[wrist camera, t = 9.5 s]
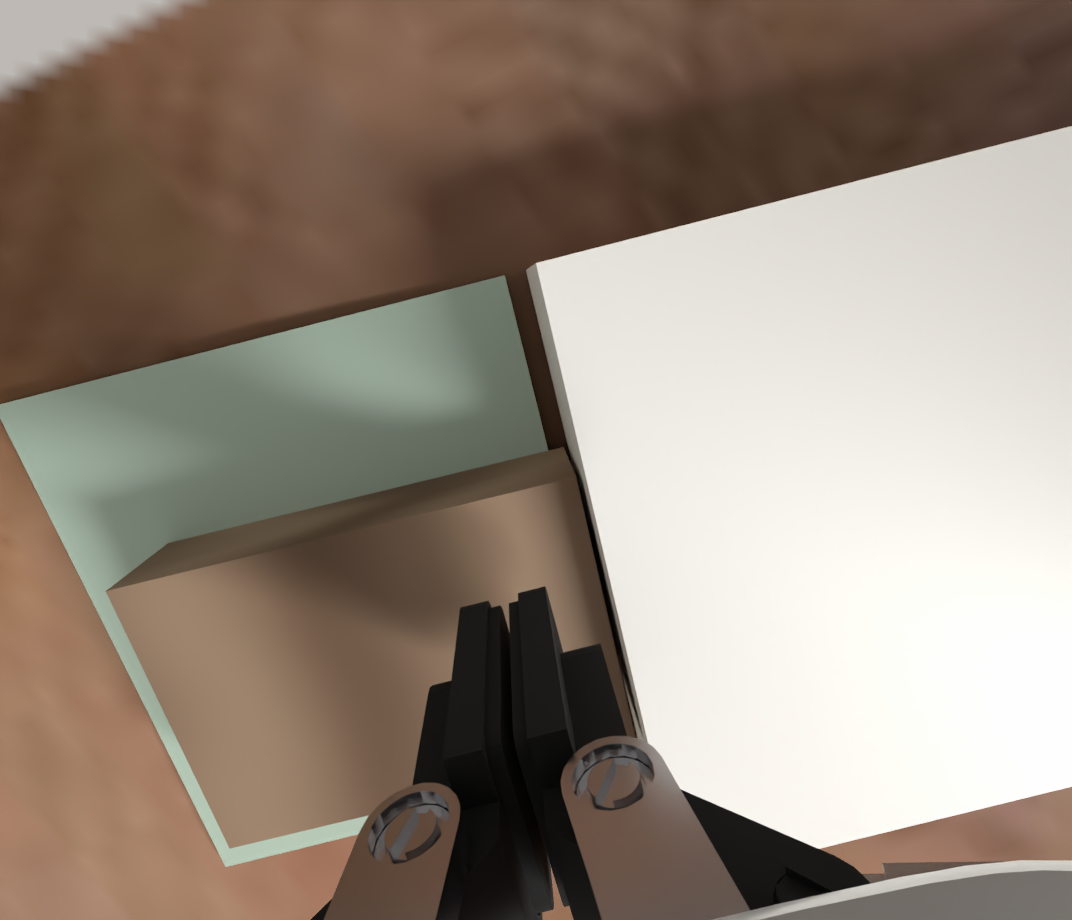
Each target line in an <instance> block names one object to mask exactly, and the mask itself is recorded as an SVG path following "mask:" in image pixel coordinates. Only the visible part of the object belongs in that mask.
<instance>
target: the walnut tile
mask: <svg viewBox="0 0 1072 920" xmlns="http://www.w3.org/2000/svg"><path fill="white" fill-rule="evenodd" d="M544 586H545V587H546V590H547V593H548V597H549V600H550V604H551V608H552V612H553V615H554V619H555V623H556V627H557V630H558V634H559V638H560V642H561V645H562V649H563V652H567V651H571V650H575V649H579V648H583V647H587V646H591V645H595V644H599V643H600V644H601V647H602V650H603V654H604V657H605V661H606V664H607V668H608V671H609V675H610V678H611V682H612V685H613V689H614V692H615V696H616V699H617V703H618V706H619V709H620V713H621V716H622V720H623V723H624V727H625V730H626V734H627V736H629V737H633V738H635V733H634V729H633V724H632V720H631V716H630V711H629V707H628V702H627V698H626V694H625V689H624V685H623V681H622V676H621V672H620V667H619V663H618V659H617V654H616V650H615V645H614V641H613V637H612V632H611V628H610V623H609V619H608V615H607V610H606V606H605V601H604V597H603V593H602V588H601V584H600V580H599V575H598V571H597V566H596V562H595V558H594V553H593V549H592V544H591V540H590V536H589V531H588V527H587V522H586V518H585V514H584V509H583V505H582V500H581V496H580V492H579V487H578V483H577V478H576V475H575V473H574V471H573V468H572V466H571V463H570V461H569V458H568V456H567V454H566V451H565V449H564V447H561V448H557V449H553V450H548V451H544V452H540V453H536V454H532V455H528V456H524V457H520V458H516V459H511V460H507V461H503V462H499V463H495V464H491V465H487V466H483V467H479V468H474V469H470V470H466V471H462V472H458V473H454V474H450V475H446V476H442V477H437V478H433V479H429V480H425V481H421V482H417V483H413V484H409V485H405V486H400V487H396V488H392V489H388V490H384V491H380V492H376V493H372V494H367V495H363V496H359V497H355V498H351V499H347V500H343V501H339V502H335V503H330V504H326V505H322V506H318V507H314V508H310V509H306V510H302V511H298V512H293V513H289V514H285V515H281V516H277V517H273V518H269V519H265V520H261V521H256V522H252V523H248V524H244V525H240V526H236V527H232V528H228V529H224V530H219V531H215V532H211V533H207V534H203V535H199V536H195V537H191V538H187V539H182V540H178V541H174V542H170V543H167V544H166V545H165V546H164V547H162V548H161V549H160V550H158V551H157V552H156V553H154V554H153V555H152V556H151V557H149V558H148V559H147V560H145V561H144V562H143V563H142V564H140V565H139V566H138V567H136V568H135V569H134V570H132V571H131V572H130V573H129V574H127V575H126V576H125V577H123V578H122V579H121V580H119V581H118V582H117V583H116V584H114V585H113V586H112V587H110V588H109V589H108V590H106V593H107V595H108V597H109V599H110V601H111V604H112V606H113V608H114V610H115V612H116V614H117V616H118V618H119V620H120V622H121V624H122V626H123V628H124V631H125V633H126V635H127V637H128V639H129V641H130V643H131V645H132V647H133V649H134V651H135V653H136V655H137V658H138V660H139V662H140V664H141V666H142V668H143V670H144V672H145V674H146V676H147V678H148V680H149V682H150V685H151V687H152V689H153V691H154V693H155V695H156V697H157V699H158V701H159V703H160V705H161V707H162V709H163V712H164V714H165V716H166V718H167V720H168V722H169V724H170V726H171V728H172V730H173V732H174V734H175V736H176V739H177V741H178V743H179V745H180V747H181V749H182V751H183V753H184V755H185V757H186V759H187V761H188V763H189V766H190V768H191V770H192V772H193V774H194V776H195V778H196V780H197V782H198V784H199V786H200V788H201V790H202V793H203V795H204V797H205V799H206V801H207V803H208V805H209V807H210V809H211V811H212V813H213V815H214V817H215V820H216V822H217V824H218V826H219V828H220V830H221V832H222V834H223V836H224V838H225V840H226V842H227V844H228V847H229V849H231V848H235V847H239V846H243V845H247V844H251V843H256V842H260V841H264V840H268V839H272V838H276V837H281V836H285V835H289V834H293V833H297V832H301V831H306V830H310V829H314V828H318V827H322V826H326V825H331V824H335V823H339V822H343V821H347V820H351V819H356V818H360V817H364V816H368V815H370V814H371V813H372V812H373V811H374V810H375V808H376V807H377V806H378V805H379V804H380V803H382V802H383V801H384V800H386V799H387V798H388V797H390V796H391V795H392V794H394V793H396V792H398V791H400V790H402V789H404V788H406V787H408V786H412V784H413V778H414V772H415V766H416V761H417V755H418V749H419V743H420V738H421V732H422V726H423V720H424V715H425V709H426V703H427V697H428V692H429V689H430V687H431V686H432V685H435V684H439V683H443V682H447V681H451V679H452V671H453V662H454V654H455V646H456V637H457V629H458V621H459V612H460V608H461V607H465V606H469V605H473V604H477V603H481V602H485V601H489V602H490V604H491V607H495V606H499V605H501V607H502V609H503V612H504V615H505V619H506V622H507V626H508V629H509V603H511V602H515V601H518V593H520V592H524V591H528V590H532V589H536V588H540V587H544ZM509 633H510V629H509Z"/></svg>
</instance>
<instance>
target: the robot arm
mask: <svg viewBox="0 0 1072 920" xmlns="http://www.w3.org/2000/svg"><path fill="white" fill-rule="evenodd" d="M509 629H510V633H509ZM509 629H508V626H507V622H506V619H505V615H504V612H503V609H502V607H501V605H499V606H495V607H491V604H490V602H489V601H485V602H481V603H477V604H473V605H469V606H465V607H461V608H460V612H459V621H458V629H457V637H456V646H455V654H454V662H453V671H452V679H451V681H447V682H443V683H439V684H435V685H432V686H431V687H430V689H429V692H428V697H427V703H426V709H425V715H424V720H423V726H422V732H421V738H420V743H419V749H418V755H417V761H416V766H415V772H414V778H413V784H412V786H408V787H406V788H404V789H402V790H400V791H398V792H396V793H394V794H392V795H391V796H390V797H388V798H387V799H386V800H384V801H383V802H382V803H380V804H379V805H378V806H377V807H376V808H375V810H374V811H373V812H372V813H371V814H370V815H369V816H368V818H367V819H366V821H365V823H364V825H363V826H362V828H361V830H360V832H359V834H358V837H357V839H356V842H355V844H354V847H353V849H352V852H351V854H350V856H349V859H348V861H347V864H346V866H345V869H344V871H343V874H342V876H341V878H340V881H339V883H338V886H337V888H336V891H335V893H334V896H333V898H332V899H331V900H330V901H329V902H328V903H327V904H326V905H325V906H324V907H323V908H322V909H321V910H320V911H319V912H318V913H317V914H316V915H315V916H314V917H313V918H312V919H311V920H542V912H545V911H549V910H553V908H554V902H553V890H552V879H551V868H552V871H553V874H554V877H555V880H556V884H557V887H558V890H559V893H560V897H561V900H562V903H563V905H564V907H565V906H569V905H570V909H571V912H572V915H573V919H574V920H1072V861H1039V860H1019V861H995V862H924V863H882V865H883V874H861V873H860V872H859V871H858V870H857V869H855V868H854V867H853V866H851V865H849V864H848V863H846V862H844V861H843V860H841V859H839V858H837V857H836V856H834V855H831V854H829V853H827V852H824V851H822V850H820V849H818V848H815V847H813V846H811V845H808V844H806V843H804V842H801V841H799V840H797V839H794V838H792V837H790V836H787V835H785V834H783V833H781V832H778V831H776V830H774V829H771V828H769V827H767V826H764V825H762V824H760V823H757V822H755V821H753V820H750V819H748V818H746V817H744V816H741V815H739V814H737V813H734V812H732V811H730V810H727V809H725V808H723V807H720V806H718V805H716V804H713V803H711V802H709V801H707V800H704V799H702V798H700V797H697V796H695V795H693V794H690V793H688V792H686V791H683V790H681V789H680V787H679V786H678V784H677V782H676V781H675V779H674V777H673V775H672V774H671V772H670V770H669V768H668V767H667V765H666V763H665V761H664V760H663V758H662V756H661V755H660V754H659V753H658V752H657V750H656V749H655V748H654V747H653V746H651V745H650V744H648V743H646V742H645V741H643V740H641V739H637V738H633V737H629V736H627V734H626V730H625V727H624V723H623V720H622V716H621V713H620V709H619V706H618V703H617V699H616V696H615V692H614V689H613V685H612V682H611V678H610V675H609V671H608V668H607V664H606V661H605V657H604V654H603V650H602V647H601V644H600V643H599V644H595V645H591V646H587V647H583V648H579V649H575V650H571V651H567V652H563V649H562V645H561V642H560V638H559V634H558V630H557V627H556V623H555V619H554V615H553V612H552V608H551V604H550V600H549V597H548V593H547V590H546V587H545V586H544V587H540V588H536V589H532V590H528V591H524V592H520V593H518V601H515V602H511V603H509ZM550 864H551V867H550Z"/></svg>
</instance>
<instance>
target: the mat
mask: <svg viewBox="0 0 1072 920" xmlns="http://www.w3.org/2000/svg"><path fill="white" fill-rule="evenodd" d="M0 419H1V421H2V423H3V425H4V427H5V429H6V431H7V433H8V435H9V437H10V439H11V441H12V443H13V445H14V447H15V449H16V451H17V453H18V455H19V457H20V459H21V461H22V463H23V465H24V467H25V469H26V471H27V473H28V475H29V477H30V479H31V481H32V483H33V485H34V487H35V489H36V491H37V493H38V495H39V497H40V499H41V501H42V503H43V505H44V507H45V509H46V511H47V513H48V515H49V517H50V519H51V521H52V523H53V524H54V526H55V528H56V530H57V532H58V534H59V536H60V538H61V540H62V542H63V544H64V546H65V548H66V550H67V552H68V554H69V556H70V558H71V560H72V562H73V564H74V566H75V568H76V570H77V572H78V574H79V576H80V578H81V580H82V582H83V584H84V586H85V588H86V590H87V592H88V594H89V596H90V598H91V600H92V602H93V604H94V606H95V608H96V610H97V612H98V614H99V616H100V618H101V620H102V622H103V624H104V626H105V628H106V630H107V632H108V634H109V636H110V638H111V640H112V642H113V644H114V646H115V648H116V650H117V652H118V654H119V656H120V658H121V660H122V662H123V664H124V666H125V668H126V670H127V672H128V674H129V676H130V678H131V680H132V682H133V684H134V686H135V688H136V690H137V692H138V694H139V696H140V698H141V700H142V702H143V704H144V705H145V707H146V709H147V711H148V713H149V715H150V717H151V719H152V721H153V723H154V725H155V727H156V729H157V731H158V733H159V735H160V737H161V739H162V741H163V743H164V745H165V747H166V749H167V751H168V753H169V755H170V757H171V759H172V761H173V763H174V765H175V767H176V769H177V771H178V773H179V775H180V777H181V779H182V781H183V783H184V785H185V787H186V789H187V791H188V793H189V795H190V797H191V799H192V801H193V803H194V805H195V807H196V809H197V811H198V813H199V815H200V817H201V819H202V821H203V823H204V825H205V827H206V829H207V831H208V833H209V835H210V837H211V839H212V841H213V843H214V845H215V847H216V849H217V851H218V853H219V855H220V857H221V859H222V861H223V863H224V865H225V867H228V866H232V865H236V864H240V863H244V862H248V861H252V860H256V859H260V858H264V857H268V856H272V855H276V854H280V853H284V852H288V851H292V850H297V849H301V848H305V847H309V846H313V845H317V844H321V843H325V842H329V841H333V840H337V839H341V838H345V837H349V836H353V835H357V834H359V832H360V830H361V828H362V826H363V825H364V823H365V821H366V819H367V818H368V816H369V815H368V816H364V817H360V818H356V819H351V820H347V821H343V822H339V823H335V824H331V825H326V826H322V827H318V828H314V829H310V830H306V831H301V832H297V833H293V834H289V835H285V836H281V837H276V838H272V839H268V840H264V841H260V842H256V843H251V844H247V845H243V846H239V847H235V848H231V849H229V847H228V844H227V842H226V840H225V838H224V836H223V834H222V832H221V830H220V828H219V826H218V824H217V822H216V820H215V817H214V815H213V813H212V811H211V809H210V807H209V805H208V803H207V801H206V799H205V797H204V795H203V793H202V790H201V788H200V786H199V784H198V782H197V780H196V778H195V776H194V774H193V772H192V770H191V768H190V766H189V763H188V761H187V759H186V757H185V755H184V753H183V751H182V749H181V747H180V745H179V743H178V741H177V739H176V736H175V734H174V732H173V730H172V728H171V726H170V724H169V722H168V720H167V718H166V716H165V714H164V712H163V709H162V707H161V705H160V703H159V701H158V699H157V697H156V695H155V693H154V691H153V689H152V687H151V685H150V682H149V680H148V678H147V676H146V674H145V672H144V670H143V668H142V666H141V664H140V662H139V660H138V658H137V655H136V653H135V651H134V649H133V647H132V645H131V643H130V641H129V639H128V637H127V635H126V633H125V631H124V628H123V626H122V624H121V622H120V620H119V618H118V616H117V614H116V612H115V610H114V608H113V606H112V604H111V601H110V599H109V597H108V595H107V593H106V590H108V589H109V588H110V587H112V586H113V585H114V584H116V583H117V582H118V581H119V580H121V579H122V578H123V577H125V576H126V575H127V574H129V573H130V572H131V571H132V570H134V569H135V568H136V567H138V566H139V565H140V564H142V563H143V562H144V561H145V560H147V559H148V558H149V557H151V556H152V555H153V554H154V553H156V552H157V551H158V550H160V549H161V548H162V547H164V546H165V545H166V544H167V543H170V542H174V541H178V540H182V539H187V538H191V537H195V536H199V535H203V534H207V533H211V532H215V531H219V530H224V529H228V528H232V527H236V526H240V525H244V524H248V523H252V522H256V521H261V520H265V519H269V518H273V517H277V516H281V515H285V514H289V513H293V512H298V511H302V510H306V509H310V508H314V507H318V506H322V505H326V504H330V503H335V502H339V501H343V500H347V499H351V498H355V497H359V496H363V495H367V494H372V493H376V492H380V491H384V490H388V489H392V488H396V487H400V486H405V485H409V484H413V483H417V482H421V481H425V480H429V479H433V478H437V477H442V476H446V475H450V474H454V473H458V472H462V471H466V470H470V469H474V468H479V467H483V466H487V465H491V464H495V463H499V462H503V461H507V460H511V459H516V458H520V457H524V456H528V455H532V454H536V453H540V452H544V451H548V447H547V443H546V439H545V435H544V431H543V427H542V423H541V419H540V415H539V411H538V407H537V403H536V399H535V395H534V391H533V387H532V383H531V378H530V374H529V370H528V366H527V362H526V358H525V354H524V350H523V346H522V342H521V338H520V334H519V330H518V326H517V322H516V318H515V314H514V310H513V306H512V302H511V298H510V294H509V290H508V286H507V282H506V278H505V275H504V276H500V277H496V278H492V279H488V280H484V281H480V282H476V283H472V284H468V285H464V286H461V287H457V288H453V289H449V290H445V291H441V292H437V293H433V294H429V295H425V296H421V297H418V298H414V299H410V300H406V301H402V302H398V303H394V304H390V305H386V306H382V307H378V308H375V309H371V310H367V311H363V312H359V313H355V314H351V315H347V316H343V317H339V318H335V319H332V320H328V321H324V322H320V323H316V324H312V325H308V326H304V327H300V328H296V329H292V330H289V331H285V332H281V333H277V334H273V335H269V336H265V337H261V338H257V339H253V340H249V341H246V342H242V343H238V344H234V345H230V346H226V347H222V348H218V349H214V350H210V351H206V352H203V353H199V354H195V355H191V356H187V357H183V358H179V359H175V360H171V361H167V362H163V363H160V364H156V365H152V366H148V367H144V368H140V369H136V370H132V371H128V372H124V373H120V374H117V375H113V376H109V377H105V378H101V379H97V380H93V381H89V382H85V383H81V384H77V385H74V386H70V387H66V388H62V389H58V390H54V391H50V392H46V393H42V394H38V395H34V396H31V397H27V398H23V399H19V400H15V401H11V402H7V403H3V404H0Z"/></svg>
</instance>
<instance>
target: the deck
mask: <svg viewBox="0 0 1072 920" xmlns="http://www.w3.org/2000/svg"><path fill="white" fill-rule="evenodd" d="M526 273H527V278H528V282H529V286H530V290H531V294H532V298H533V303H534V307H535V311H536V315H537V319H538V324H539V328H540V332H541V336H542V340H543V345H544V349H545V353H546V357H547V361H548V365H549V370H550V374H551V378H552V382H553V386H554V391H555V395H556V399H557V403H558V407H559V412H560V416H561V420H562V424H563V428H564V432H565V437H566V441H567V445H568V449H569V453H570V458H571V462H572V466H573V470H574V473H575V475H576V478H577V483H578V487H579V492H580V496H581V500H582V505H583V509H584V514H585V518H586V522H587V527H588V531H589V536H590V540H591V544H592V549H593V553H594V558H595V562H596V566H597V571H598V575H599V579H600V583H601V587H602V592H603V596H604V600H605V604H606V608H607V613H608V617H609V621H610V625H611V629H612V633H613V638H614V642H615V646H616V650H617V654H618V659H619V663H620V667H621V671H622V675H623V680H624V684H625V688H626V692H627V696H628V700H629V705H630V709H631V713H632V717H633V721H634V726H635V730H636V734H637V738H638V739H641V740H643V741H645V742H646V743H648V744H650V745H651V746H653V747H654V748H655V749H656V750H657V752H658V753H659V754H660V755H661V756H662V758H663V760H664V761H665V763H666V765H667V767H668V768H669V770H670V772H671V774H672V775H673V777H674V779H675V781H676V782H677V784H678V786H679V787H680V789H681V790H683V791H686V792H688V793H690V794H693V795H695V796H697V797H700V798H702V799H704V800H707V801H709V802H711V803H713V804H716V805H718V806H720V807H723V808H725V809H727V810H730V811H732V812H734V813H737V814H739V815H741V816H744V817H746V818H748V819H750V820H753V821H755V822H757V823H760V824H762V825H764V826H767V827H769V828H771V829H774V830H776V831H778V832H781V833H783V834H785V835H787V836H790V837H792V838H794V839H797V840H799V841H801V842H804V843H806V844H808V845H811V846H813V847H815V848H818V849H820V848H824V847H828V846H832V845H836V844H840V843H844V842H848V841H852V840H856V839H860V838H864V837H869V836H873V835H877V834H881V833H885V832H889V831H893V830H897V829H901V828H905V827H909V826H913V825H917V824H921V823H925V822H930V821H934V820H938V819H942V818H946V817H950V816H954V815H958V814H962V813H966V812H970V811H974V810H978V809H982V808H986V807H991V806H995V805H999V804H1003V803H1007V802H1011V801H1015V800H1019V799H1023V798H1027V797H1031V796H1035V795H1039V794H1043V793H1047V792H1051V791H1056V790H1060V789H1064V788H1068V787H1072V126H1070V127H1066V128H1062V129H1058V130H1054V131H1050V132H1046V133H1042V134H1039V135H1035V136H1031V137H1027V138H1023V139H1019V140H1015V141H1011V142H1007V143H1003V144H999V145H996V146H992V147H988V148H984V149H980V150H976V151H972V152H968V153H964V154H960V155H956V156H953V157H949V158H945V159H941V160H937V161H933V162H929V163H925V164H921V165H917V166H913V167H910V168H906V169H902V170H898V171H894V172H890V173H886V174H882V175H878V176H874V177H870V178H867V179H863V180H859V181H855V182H851V183H847V184H843V185H839V186H835V187H831V188H827V189H824V190H820V191H816V192H812V193H808V194H804V195H800V196H796V197H792V198H788V199H784V200H781V201H777V202H773V203H769V204H765V205H761V206H757V207H753V208H749V209H745V210H742V211H738V212H734V213H730V214H726V215H722V216H718V217H714V218H710V219H706V220H702V221H699V222H695V223H691V224H687V225H683V226H679V227H675V228H671V229H667V230H663V231H659V232H656V233H652V234H648V235H644V236H640V237H636V238H632V239H628V240H624V241H620V242H616V243H613V244H609V245H605V246H601V247H597V248H593V249H589V250H585V251H581V252H577V253H573V254H570V255H566V256H562V257H558V258H554V259H550V260H546V261H542V262H538V263H535V264H534V265H532V266H531V267H529V268H528V269H527V270H526Z"/></svg>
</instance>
